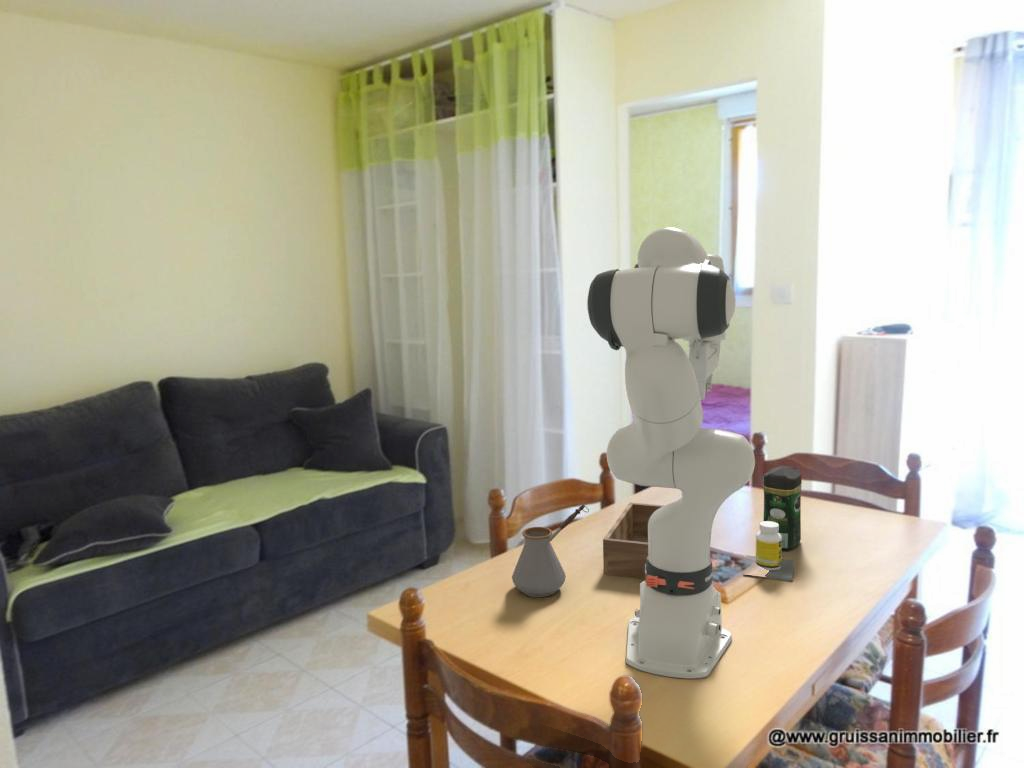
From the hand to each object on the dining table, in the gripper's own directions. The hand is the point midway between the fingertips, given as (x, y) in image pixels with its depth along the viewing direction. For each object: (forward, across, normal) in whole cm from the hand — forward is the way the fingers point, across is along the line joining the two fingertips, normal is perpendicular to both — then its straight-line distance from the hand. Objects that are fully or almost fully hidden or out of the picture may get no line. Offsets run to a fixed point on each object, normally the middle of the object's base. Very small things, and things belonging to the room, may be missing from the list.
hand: (703, 395), depth 158 cm
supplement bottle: (+39, +2, -14) cm, 41 cm away
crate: (+39, +2, +13) cm, 41 cm away
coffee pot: (+39, -18, +29) cm, 52 cm away
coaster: (+39, +2, -14) cm, 41 cm away
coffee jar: (+39, +18, -16) cm, 46 cm away
